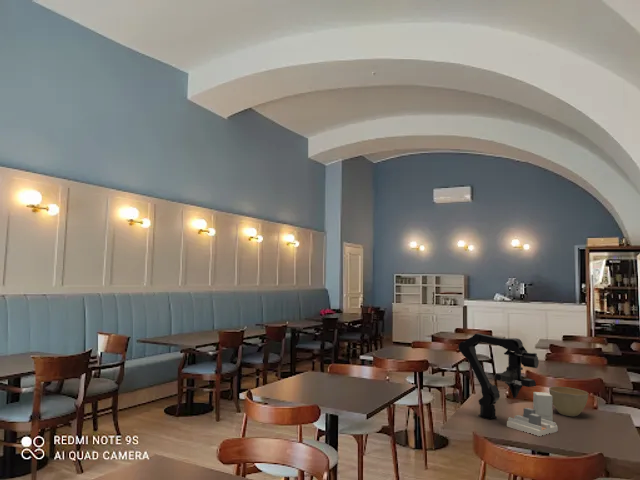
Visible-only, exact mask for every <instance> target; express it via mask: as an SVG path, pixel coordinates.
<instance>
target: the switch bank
mask: <svg viewBox="0 0 640 480" xmlns="http://www.w3.org/2000/svg"><path fill="white" fill-rule="evenodd" d="M507 418H508V419H507V421H506V427H508V428H511V429H514V430H518V431H520V432H523V431H524V432H523V433H526V432H527V434H529V433H531V434H530V435H532V434H534V435H533V436H535V435H537V436H536V437H539V436H540V437H543V436H547V435H549V433H550V434H553V433H557V432H558V428H559V427H558V425H557V422H555V421H552V422H551V421H548V420H544V419H541V426H538V425H534V424H531V423H529V418H527V417H524V413H523V414H522V415H520V414H517V415H514V417H510V416H509V417H507ZM546 434H547V435H546ZM542 435H543V436H542Z"/></svg>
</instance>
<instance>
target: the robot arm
mask: <svg viewBox="0 0 640 480" xmlns="http://www.w3.org/2000/svg"><path fill="white" fill-rule="evenodd" d="M480 343H484V344H489V345H493V346H499V347H502V348H503V349H505V350H506V351H504V352H503V354H504V355H505V356H508V363H507V365H508V366H506V369H505V370H504V371H503V372H498V373H495V375H494V380H495V381H496V380H497V381H502V382H504V384H506V385H507V386H508V387H509V389H510V391H511V393H510V394H511V396H512V398H513V399H516V398H517V397H518V394H519V393H520V391H521V389H522V388H523V387H527V388H532V387H537V384H536V383H537V381H536V380H535V379H531V378H524V376H523V375H522V371H523V368H524V367H526V368H533V369H538V367H539V363H540V360H539V357H538V354H537V353H536V352H532V353H531V352H528V351H527V349H526V347H524V345H523V344H524V343H523V341H522V340H521V339H520V338H514V337H513V338H509V337H508V338H507V337H505V338H504V337H498V336H493V335H487V334H485V333H483V334H482V333H479V332H478V333H474V334H473V335H472V336H471V337H469V338H468V339H466V340H465V341H464V340H463V341H461V342H459V344H458V350H459V352H460V353H461V354H462V356H463V357H464V358H465V359H466V360H467V361H468V362H469V365H470V367H471V369H472V371H473V372H474V375H475V377H476V379H477V381H478V383H479V385H480V387H481V389H480V390H481V395H482V397H481V398H480V399H478V404H479V406H480V411H479V412H480V414H478V417H480V418H483V419H487V420H492V419H496V418H497V415H496V412H497V411H496V404H497V401H499V400H500V390H499V389H498V386H497V385H496V384H492V382H490V380H489V378H488V377H487V374H486V373H485V372H486V371H485V370H484V368H483V366H482V364H481V362H480V360H479V359H478V357H477V351H476V347H477V346H478V345H479V344H480ZM522 365H523V367H522Z"/></svg>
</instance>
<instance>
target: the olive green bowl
mask: <svg viewBox="0 0 640 480" xmlns="http://www.w3.org/2000/svg"><path fill="white" fill-rule="evenodd" d="M548 393H549V394H550V395H551V396H552V405H553V406H554V408H555V409H556V411H557V412H558V413H559V414H560V415H563V416H567V417H577V416H579V415H580V414H581V413H582V412H583V411H584V409H585V407H586V405H587V402H588V400H589V392H588V391H586V390H582V389H578V388H572V387H567V386H550V387H549V390H548Z"/></svg>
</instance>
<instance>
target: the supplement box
mask: <svg viewBox="0 0 640 480" xmlns="http://www.w3.org/2000/svg"><path fill="white" fill-rule="evenodd" d="M532 399H533V401H532V403H533V405H532V406H533V408H532V409H534V410H535V414H536V415H540V416H541V419H544V420H548V421H551V422H554V421H553V402H552V396H551V395H550V392H541V391H540V392H538V391H533V398H532Z"/></svg>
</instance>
